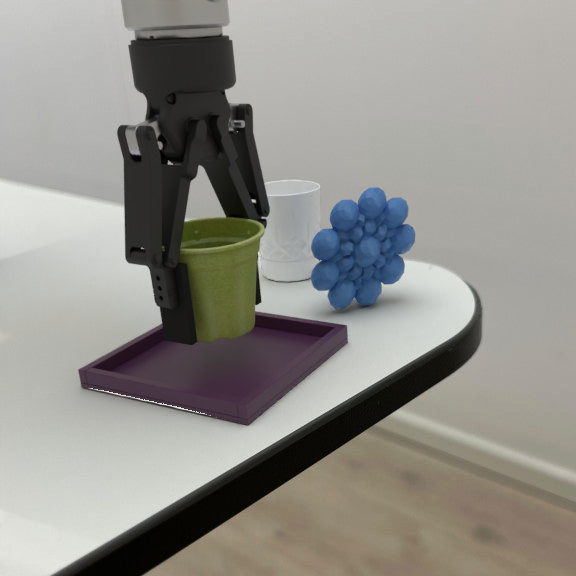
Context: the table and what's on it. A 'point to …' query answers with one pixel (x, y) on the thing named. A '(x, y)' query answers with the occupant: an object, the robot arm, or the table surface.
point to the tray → (219, 366)
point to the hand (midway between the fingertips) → (215, 320)
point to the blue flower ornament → (362, 248)
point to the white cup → (290, 229)
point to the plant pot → (221, 274)
